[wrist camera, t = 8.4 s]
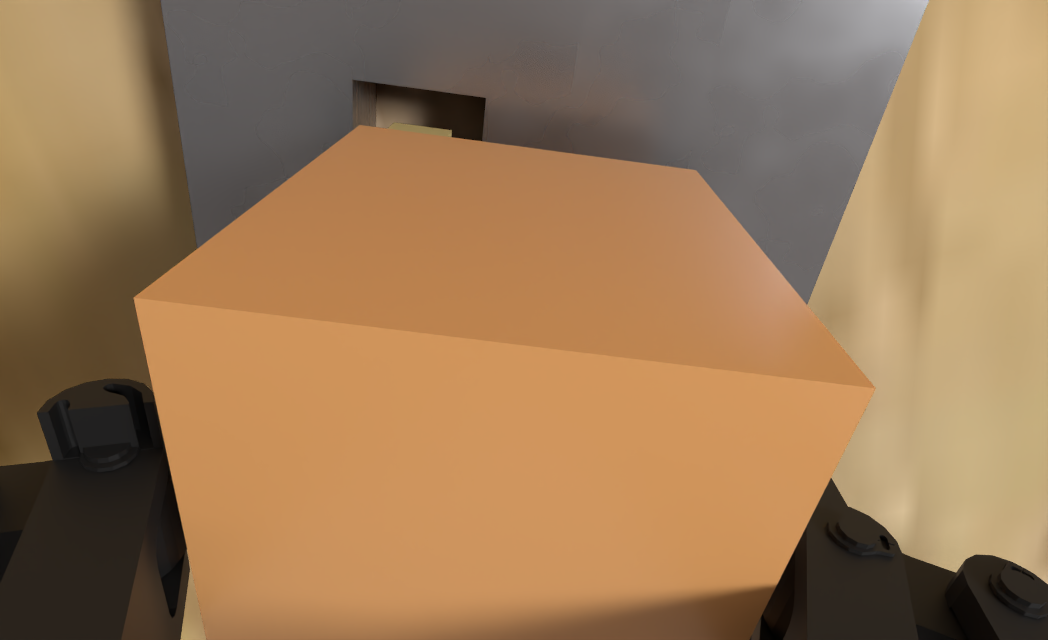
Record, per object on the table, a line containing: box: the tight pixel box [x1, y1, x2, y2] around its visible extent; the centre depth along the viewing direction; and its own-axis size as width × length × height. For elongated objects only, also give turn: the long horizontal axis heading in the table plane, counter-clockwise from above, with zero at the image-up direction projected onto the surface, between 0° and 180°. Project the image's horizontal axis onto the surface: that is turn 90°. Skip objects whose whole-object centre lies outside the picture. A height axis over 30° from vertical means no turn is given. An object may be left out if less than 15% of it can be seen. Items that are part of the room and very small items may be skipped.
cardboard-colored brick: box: [134, 123, 876, 640], centre depth 12 cm, size 7×8×10 cm
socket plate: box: [161, 0, 929, 304], centre depth 18 cm, size 17×17×2 cm
